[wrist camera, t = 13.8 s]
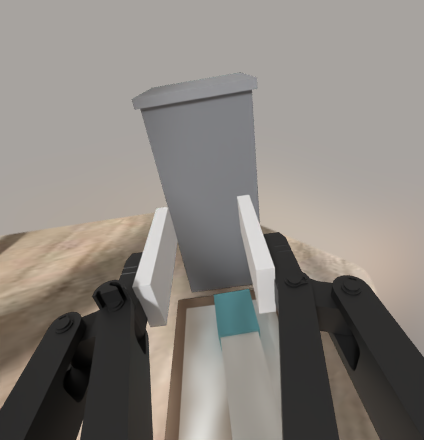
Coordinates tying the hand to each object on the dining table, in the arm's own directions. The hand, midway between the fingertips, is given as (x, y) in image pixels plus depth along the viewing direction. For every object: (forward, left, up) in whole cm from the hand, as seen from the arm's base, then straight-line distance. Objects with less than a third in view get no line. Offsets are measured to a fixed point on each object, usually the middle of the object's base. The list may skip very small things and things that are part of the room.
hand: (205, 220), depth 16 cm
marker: (+1, 0, -23) cm, 23 cm away
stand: (0, +22, -24) cm, 32 cm away
